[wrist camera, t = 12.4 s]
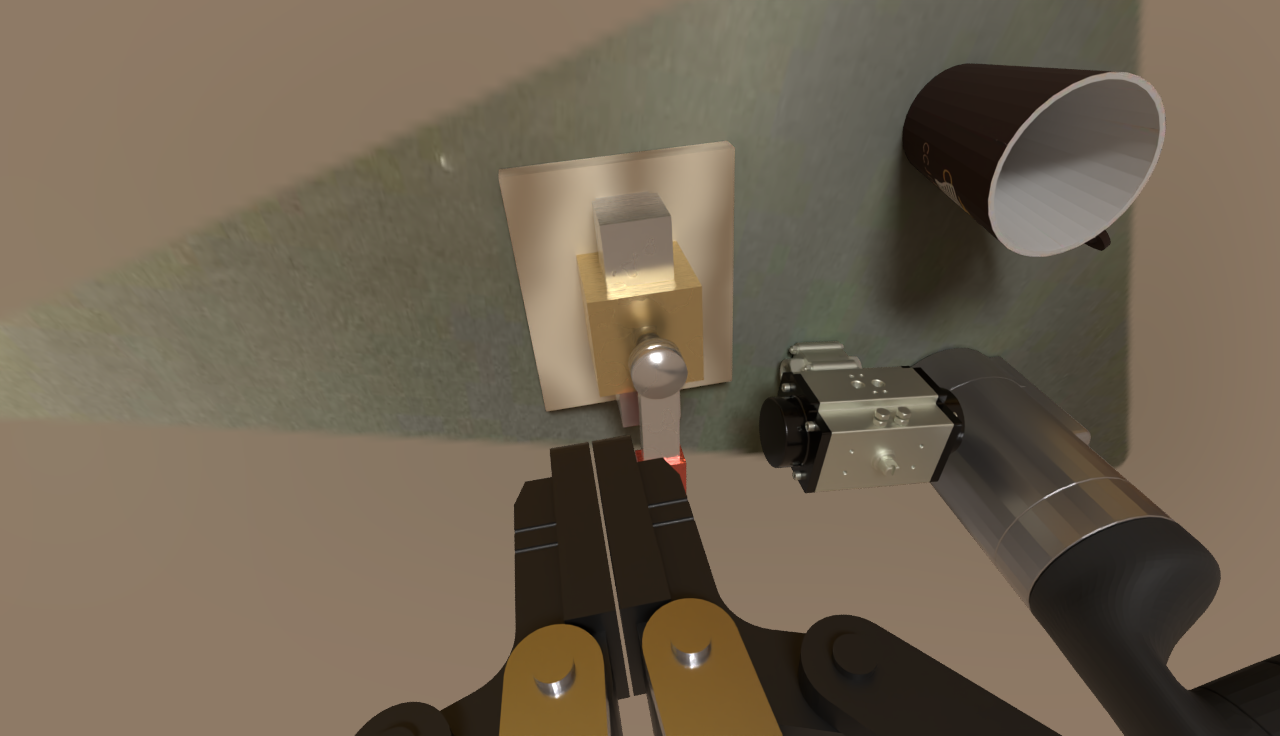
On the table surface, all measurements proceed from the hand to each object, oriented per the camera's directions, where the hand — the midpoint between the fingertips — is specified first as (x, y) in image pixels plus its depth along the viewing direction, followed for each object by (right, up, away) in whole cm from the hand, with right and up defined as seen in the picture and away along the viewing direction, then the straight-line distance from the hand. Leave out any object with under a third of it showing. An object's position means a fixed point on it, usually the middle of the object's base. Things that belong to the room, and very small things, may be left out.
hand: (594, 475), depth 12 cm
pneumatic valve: (+13, +3, +34) cm, 37 cm away
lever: (+2, -2, +23) cm, 24 cm away
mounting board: (0, +7, +28) cm, 29 cm away
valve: (0, +7, +27) cm, 28 cm away
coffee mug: (+20, +16, +27) cm, 37 cm away
